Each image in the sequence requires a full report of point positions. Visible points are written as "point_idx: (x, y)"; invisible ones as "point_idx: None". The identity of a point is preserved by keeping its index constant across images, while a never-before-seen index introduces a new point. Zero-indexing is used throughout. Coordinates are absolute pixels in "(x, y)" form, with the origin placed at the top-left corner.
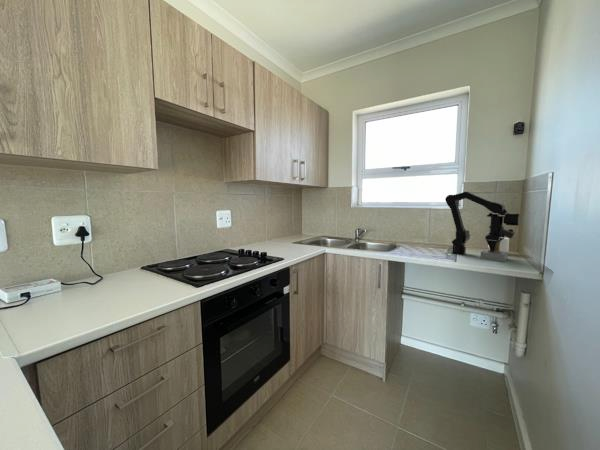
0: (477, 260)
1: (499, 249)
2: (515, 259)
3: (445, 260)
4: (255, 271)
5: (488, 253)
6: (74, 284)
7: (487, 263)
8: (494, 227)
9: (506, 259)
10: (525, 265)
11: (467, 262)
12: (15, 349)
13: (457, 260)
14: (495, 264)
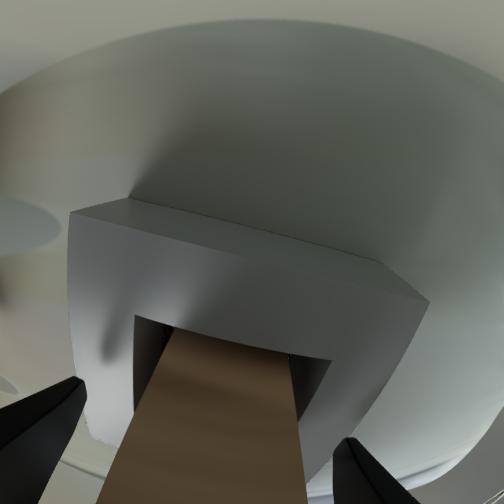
0: (391, 430)
1: (155, 387)
2: (126, 114)
3: (419, 485)
4: (487, 501)
5: (336, 442)
6: (500, 498)
7: (471, 370)
8: None
9: (204, 216)
10: (448, 84)
11: (452, 438)
12: None
13: (413, 471)
14: (491, 325)
